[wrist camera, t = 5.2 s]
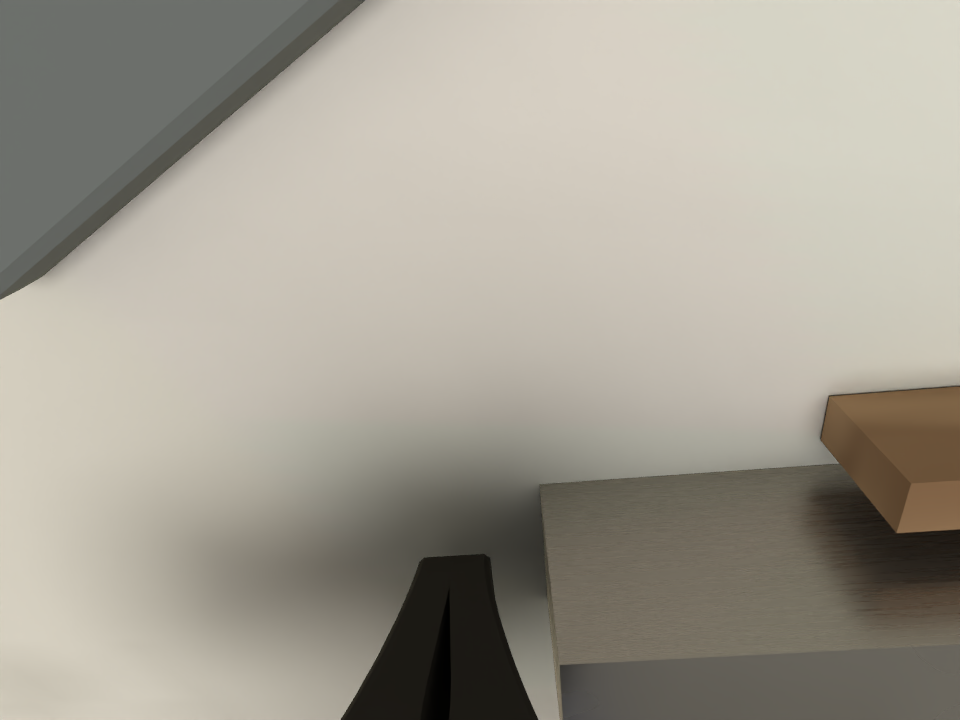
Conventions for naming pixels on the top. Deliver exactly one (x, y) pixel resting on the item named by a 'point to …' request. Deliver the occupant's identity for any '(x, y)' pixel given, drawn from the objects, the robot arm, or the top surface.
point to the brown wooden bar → (901, 453)
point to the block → (747, 600)
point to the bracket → (122, 103)
